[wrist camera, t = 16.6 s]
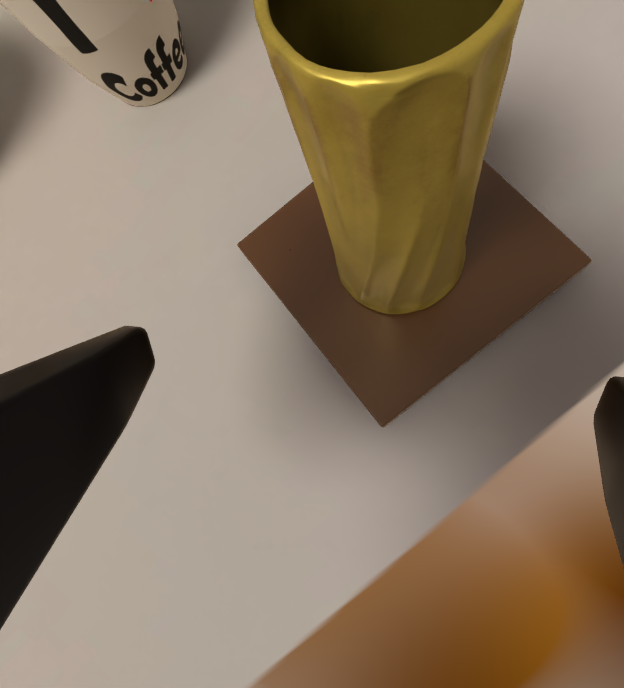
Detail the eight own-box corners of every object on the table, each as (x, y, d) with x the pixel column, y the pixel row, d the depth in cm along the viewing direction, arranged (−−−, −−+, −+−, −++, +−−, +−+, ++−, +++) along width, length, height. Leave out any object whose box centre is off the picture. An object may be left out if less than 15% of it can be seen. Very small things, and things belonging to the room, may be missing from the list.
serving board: (585, 267, 21) (593, 260, 20) (383, 428, 22) (382, 428, 21) (415, 109, 25) (415, 96, 24) (242, 251, 25) (236, 244, 24)
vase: (312, 245, 23) (177, -29, 9) (412, 172, 23) (421, -221, 9) (384, 341, 22) (346, 173, 8) (492, 263, 21) (650, -51, 8)
